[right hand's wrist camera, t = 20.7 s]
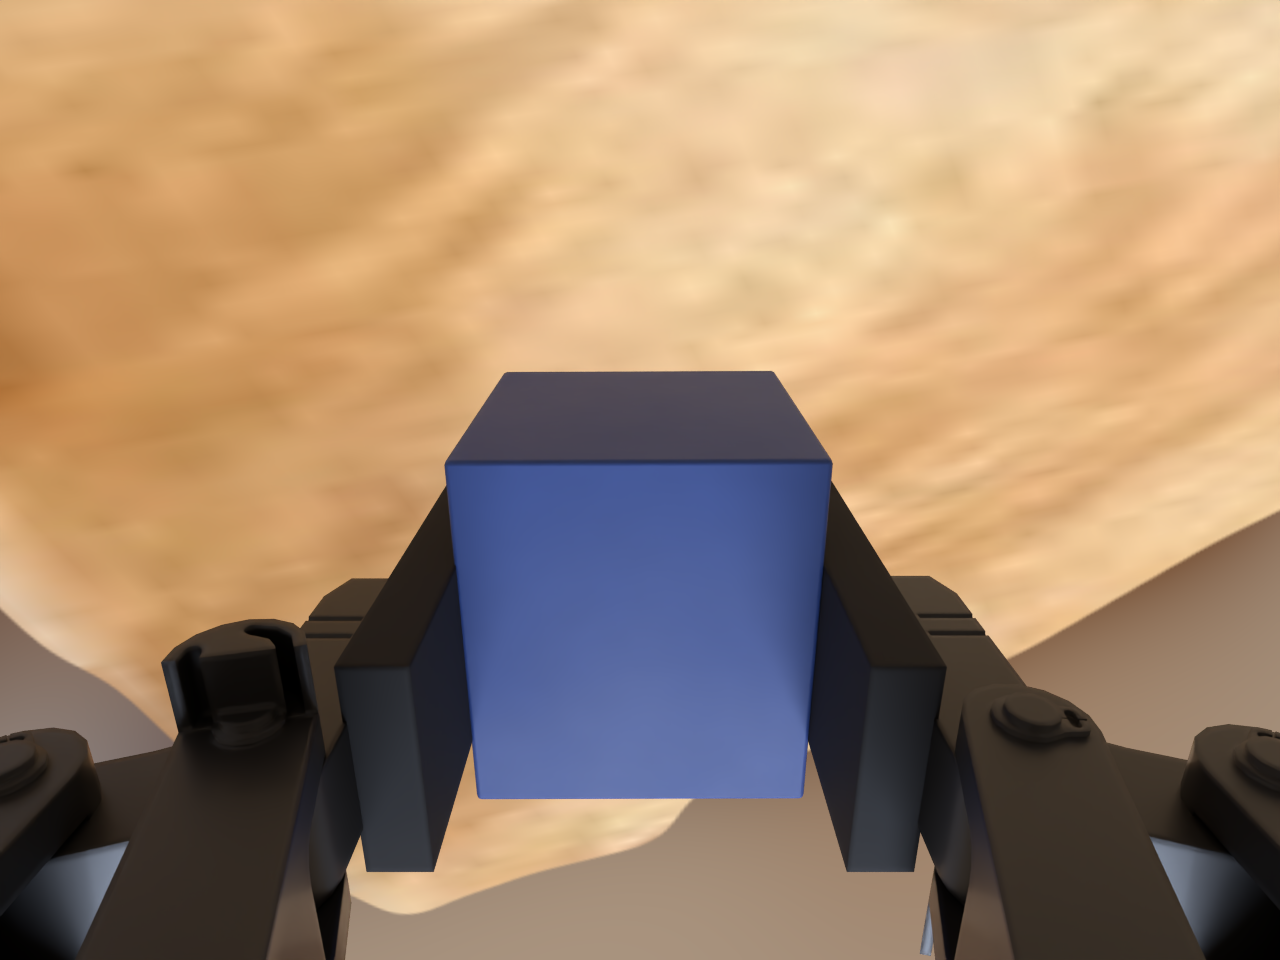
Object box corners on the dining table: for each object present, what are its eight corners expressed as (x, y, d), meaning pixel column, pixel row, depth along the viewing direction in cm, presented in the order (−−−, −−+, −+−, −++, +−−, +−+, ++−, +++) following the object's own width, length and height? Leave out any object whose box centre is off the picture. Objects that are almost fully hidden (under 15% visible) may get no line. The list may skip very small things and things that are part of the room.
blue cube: (521, 629, 16) (476, 801, 11) (504, 371, 14) (442, 461, 10) (759, 628, 16) (804, 800, 11) (774, 370, 14) (834, 460, 10)
